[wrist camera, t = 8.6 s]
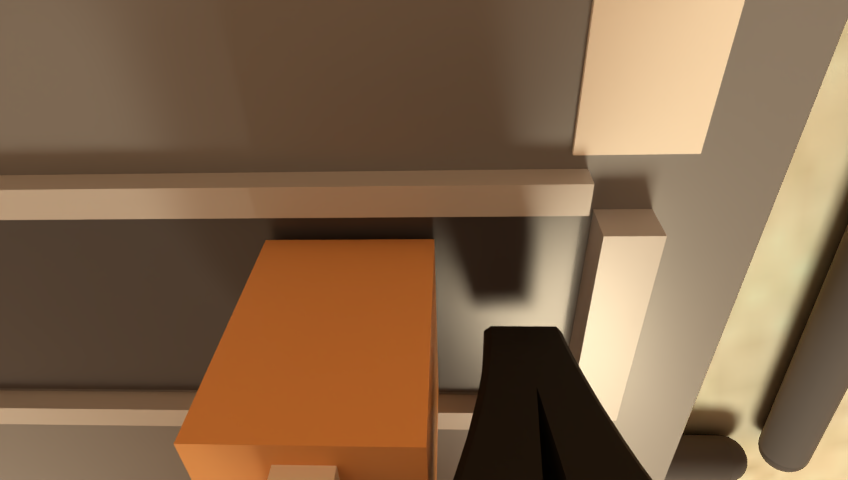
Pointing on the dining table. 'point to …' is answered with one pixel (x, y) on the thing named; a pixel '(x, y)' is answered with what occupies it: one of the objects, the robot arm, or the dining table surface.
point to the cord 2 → (812, 376)
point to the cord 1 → (707, 459)
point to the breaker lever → (323, 368)
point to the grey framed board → (381, 191)
